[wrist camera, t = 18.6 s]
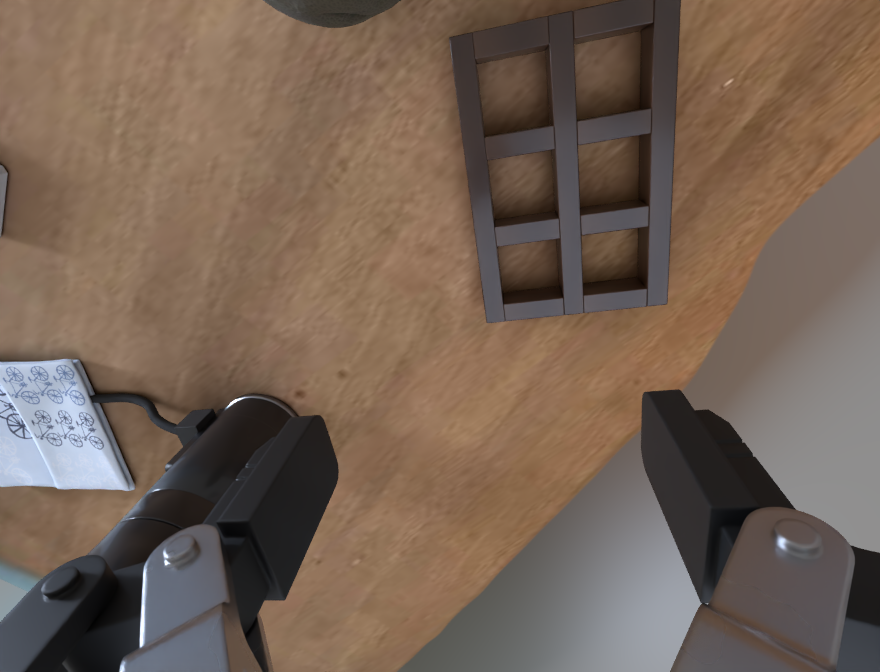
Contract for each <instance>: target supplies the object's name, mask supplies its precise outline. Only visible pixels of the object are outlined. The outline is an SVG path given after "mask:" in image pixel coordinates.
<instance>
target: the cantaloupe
mask: <svg viewBox="0 0 880 672" xmlns="http://www.w3.org/2000/svg"><path fill="white" fill-rule="evenodd" d="M263 1H265V2H266V3H268V4H269V5H271V6H272V7H273V8H275V9H276V10H278V11H280V12H282V13H284V14H286V15H288V16H289V17H292V18H294V19H297V20H299V21H302V22H305V23H308V24H312V25H317V26H322V27H328V28H339V27H347V26H352V25H356V24H359V23H361V22H364V21H366V20H367V19H369V18H371V17H373V16H375V15H377V14H379V13H382V12H384V11H385V10H387V9H389V8H391V7H393V6H394V5H395V4H396V3H398V2H399V1H401V0H263Z"/></svg>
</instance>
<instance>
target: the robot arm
mask: <svg viewBox="0 0 880 672" xmlns="http://www.w3.org/2000/svg"><path fill="white" fill-rule="evenodd" d="M89 397H90V399H91V401H92V403H109V402H129V403H134V404H137V405H139V406H142V407H143V408H145V409H146V411H147V413H148V415H149V417H150V419H151V421H152V422H153V423H154V424H156V425H157V426H158V427H160V428H162V429H163V430H166V431H168V432H170V433H173V434H176V435H178V437H179V439H180V441H181V443H182V445H183V448H182V449H181V450H180V451H179V452H178V453H177V454H176V455H175V456H174V457H173V458H172V459H171V460H170V461H169V462H168V463H167V465H166V467H165V471H166V473H165V474H164V475H163V476H162V477H161V478H160V479H159V480H158V481H157V482H156V483H155V484H154V485H153V487H152V488H151V489H150V490H149V491H148V492H147V493H146V494H145V495H144V496H143V497H142V498H141V499H140V501H139V502H138V503H137V504H136V505H135V506H134V507H133V508H132V509H131V510H130V511H129V512H128V513H127V514H126V515H125V516H124V517H123V518H122V520H121V521H120V522H119V523H118V524H117V525H116V526H115V527H114V528H113V529H112V530H111V531H110V532H109V533H108V534H107V535H106V536H105V537H104V539H103V540H102V541H101V542H100V543H99V544H98V545H97V546H96V547H95V548H93V549H92V550H91V551H90V552H89V553H88V554H87V555H86V556H83V557H79V558H76V559H74V560H71V561H69V562H67V563H65V564H63V565H62V566H60V567H58V568H57V569H55V570H53V571H52V572H50V573H49V574H48V575H46V576H45V577H44V578H43V579H41V580H40V581H39V582H38V583H37V584H36V585H35V586H34V587H33V588H32V589H31V590H30V591H29V592H28V593H27V594H26V595H25V596H24V597H23V598H22V600H21V601H20V602H19V603H18V604H17V605H16V606H15V607H14V608H13V609H12V610H11V611H10V612H9V613H8V614H7V615H6V617H5V618H4V619H3V620H2V621H1V622H0V672H274V671H273V666H272V662H271V657H270V653H269V649H268V644H267V640H266V635H265V631H264V626H263V622H262V619H261V617H260V615H259V613H258V612H259V610H260V608H261V606H262V604H263V602H264V600H285V599H286V597H287V595H288V593H289V590H290V588H291V586H292V584H293V581H294V579H295V577H296V575H297V572H298V570H299V568H300V566H301V563H302V561H303V559H304V557H305V554H306V552H307V550H308V548H309V545H310V543H311V541H312V539H313V536H314V534H315V532H316V530H317V527H318V525H319V523H320V521H321V518H322V516H323V514H324V512H325V509H326V507H327V505H328V503H329V500H330V498H331V496H332V494H333V491H334V489H335V487H336V484H337V481H338V462H337V459H336V455H335V452H334V449H333V446H332V443H331V440H330V437H329V434H328V431H327V428H326V424H325V422H324V420H323V418H322V417H321V416H319V415H314V416H300V417H298V416H297V415H296V414H295V412H294V411H293V410H292V409H291V408H290V407H288V406H287V405H286V404H284V403H283V402H281V401H279V400H277V399H275V398H273V397H270V396H267V395H262V394H247V395H243V396H240V397H238V398H236V399H235V400H233V401H232V402H231V403H230V404H229V405H228V406H227V407H226V408H225V409H219V410H218V411H217V413H216V414H215V412H214V410H213V409H205V410H193V411H191V412H190V413H189V414H188V415H187V416H186V417H185V418H184V419H183V420H182V421H181V422H180V423H179V424H178V425H176V424H174V423H171V422H169V421H167V420H166V419H164V418H163V417H161V416H160V415H159V413H158V411H157V409H156V407H155V405H154V404H153V402H152V401H150V400H149V399H147V398H144V397H142V396H139V395H134V394H101V395H92V396H89ZM641 451H642V458H643V463H644V467H645V471H646V473H647V476H648V478H649V481H650V483H651V485H652V488H653V490H654V492H655V495H656V497H657V500H658V502H659V504H660V507H661V509H662V511H663V514H664V516H665V519H666V521H667V523H668V526H669V528H670V530H671V533H672V535H673V538H674V539H675V542H676V545H677V547H678V549H679V552H680V554H681V557H682V559H683V561H684V564H685V566H686V568H687V571H688V573H689V575H690V578H691V580H692V583H693V585H694V587H695V590H696V592H697V594H698V597H699V599H700V602H701V603H702V604H701V605H700V607H699V608H698V610H697V612H696V614H695V616H694V618H693V621H692V623H691V625H690V628H689V630H688V632H687V634H686V637H685V639H684V641H683V644H682V646H681V648H680V650H679V653H678V655H677V657H676V659H675V662H674V664H673V666H672V668H671V671H670V672H880V553H877V552H872V551H868V550H864V549H860V548H857V547H854V546H851V545H850V544H849V543H848V542H847V541H846V539H845V538H844V537H843V536H842V535H841V534H840V533H839V532H838V531H837V530H835V529H834V528H833V527H831V526H830V525H828V524H827V523H825V522H824V521H822V520H820V519H818V518H816V517H814V516H812V515H809V514H806V513H804V512H801V511H798V510H796V509H795V508H794V507H793V505H792V504H791V503H790V501H789V500H788V499H787V498H786V496H785V495H784V494H783V492H782V491H781V490H780V488H779V487H778V486H777V485H776V483H775V482H774V481H773V479H772V478H771V477H770V475H769V474H768V473H767V471H766V470H765V469H764V468H763V466H762V465H761V464H760V462H759V461H758V460H757V459H756V457H753V454H752V452H751V451H750V449H749V448H748V447H747V445H746V444H745V443H742V439H741V438H740V436H739V435H738V434H737V432H736V431H735V430H734V428H733V427H732V426H731V425H730V423H729V422H727V421H725V420H724V419H722V418H721V417H719V416H718V415H716V414H715V413H713V412H711V411H710V410H696V411H695V410H694V409H693V408H692V406H691V405H690V403H689V402H688V400H687V399H686V397H685V396H684V394H683V393H682V392H681V391H680V390H664V391H651V392H644V394H643V397H642V427H641ZM705 603H709V604H708V605H707V604H705Z"/></svg>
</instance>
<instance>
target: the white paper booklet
mask: <svg viewBox="0 0 880 672" xmlns="http://www.w3.org/2000/svg"><path fill="white" fill-rule="evenodd" d="M92 395H95V393H94V391H93V389H92V386H91V384H90V382H89V380H88V377H87V375H86V373H85V371H84V368H83V366H82V364H81V362H80V360H78V359H77V360H72V359H62V360H52V361H39V362H0V487H8V486H45V487H56V488H58V489H109V490H125V491H130V490H134V489H135V485H134V482H133V480H132V478H131V475H130V473H129V470H128V468H127V466H126V464H125V462H124V459H123V457H122V454H121V452H120V449H119V447H118V445H117V443H116V440H115V438H114V435H113V433H112V431H111V428H110V426H109V423H108V421H107V419H106V416H105V414H104V412H103V410H102V408H101V406H100V403H92V401H91V399H90V397H89V396H92Z"/></svg>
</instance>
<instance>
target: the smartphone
mask: <svg viewBox="0 0 880 672" xmlns="http://www.w3.org/2000/svg"><path fill="white" fill-rule="evenodd" d="M7 175H8V173H7V171H6V170H5V168H4V167H3V166H2V165H0V237H1V232H2V222H3V213H4V204H5V194H6V185H7Z"/></svg>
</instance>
